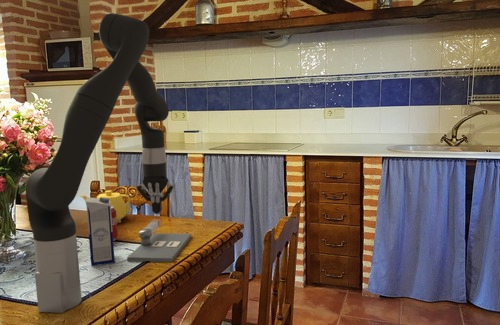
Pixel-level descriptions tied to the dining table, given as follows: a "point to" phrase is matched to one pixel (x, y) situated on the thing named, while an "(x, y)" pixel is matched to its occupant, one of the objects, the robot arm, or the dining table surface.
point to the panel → (160, 247)
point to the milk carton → (100, 231)
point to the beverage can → (114, 223)
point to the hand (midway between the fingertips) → (157, 213)
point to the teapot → (115, 203)
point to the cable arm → (149, 229)
